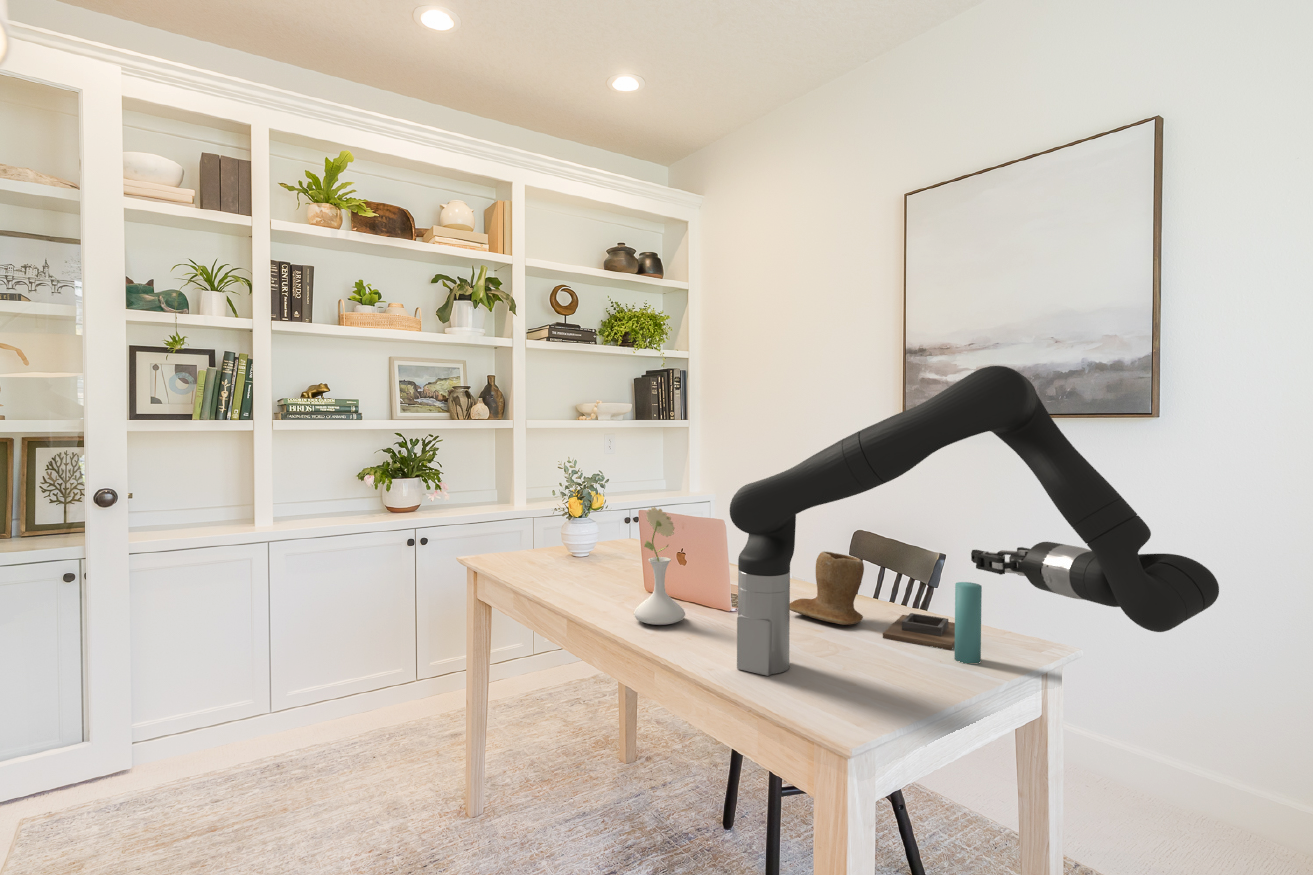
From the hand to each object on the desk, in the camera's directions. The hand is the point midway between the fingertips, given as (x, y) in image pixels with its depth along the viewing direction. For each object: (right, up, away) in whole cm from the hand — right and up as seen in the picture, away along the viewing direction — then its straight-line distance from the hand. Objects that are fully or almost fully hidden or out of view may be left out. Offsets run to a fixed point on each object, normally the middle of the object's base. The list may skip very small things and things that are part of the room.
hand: (996, 554), depth 115 cm
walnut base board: (-3, -21, +24) cm, 32 cm away
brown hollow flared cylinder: (-20, -21, +34) cm, 44 cm away
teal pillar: (-1, -21, +8) cm, 23 cm away
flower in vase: (-58, -21, +32) cm, 70 cm away
